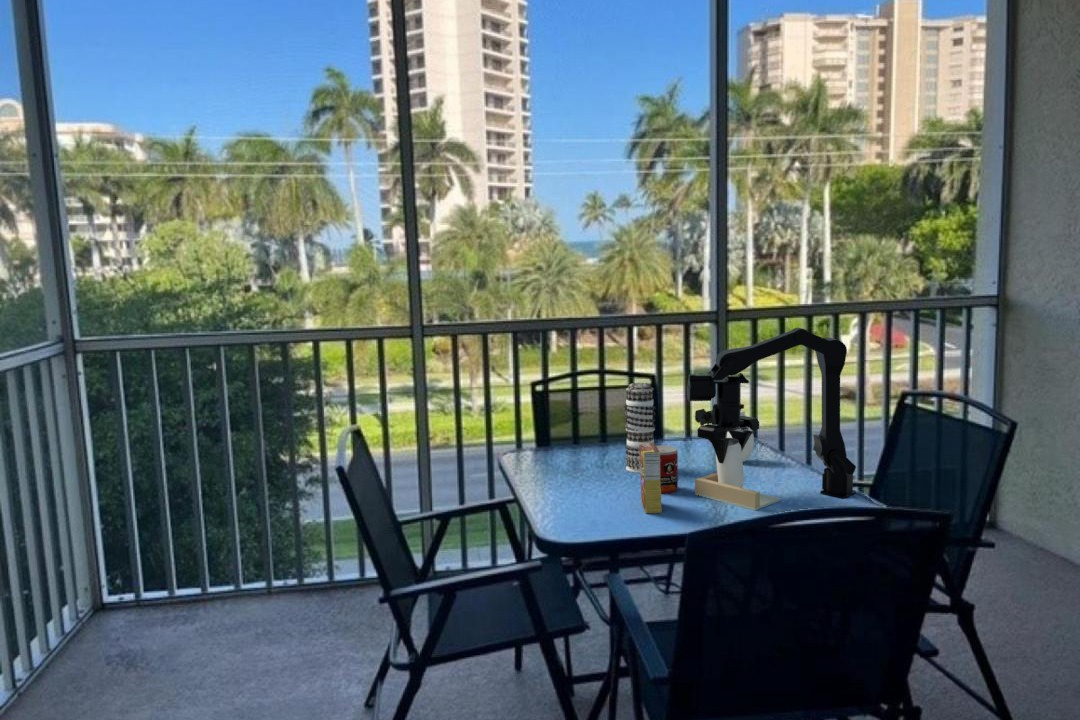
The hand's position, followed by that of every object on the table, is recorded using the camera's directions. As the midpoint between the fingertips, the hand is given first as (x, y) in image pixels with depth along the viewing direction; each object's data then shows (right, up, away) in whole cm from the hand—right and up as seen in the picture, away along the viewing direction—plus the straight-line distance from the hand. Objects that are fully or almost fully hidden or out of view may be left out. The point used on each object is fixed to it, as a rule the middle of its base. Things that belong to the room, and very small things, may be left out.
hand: (728, 460), depth 201 cm
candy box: (-21, -11, -8) cm, 25 cm away
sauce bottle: (+11, -5, +33) cm, 35 cm away
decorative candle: (-19, -6, +28) cm, 34 cm away
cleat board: (+2, -9, -1) cm, 9 cm away
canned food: (-16, -9, +7) cm, 19 cm away
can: (+1, -7, +2) cm, 7 cm away
